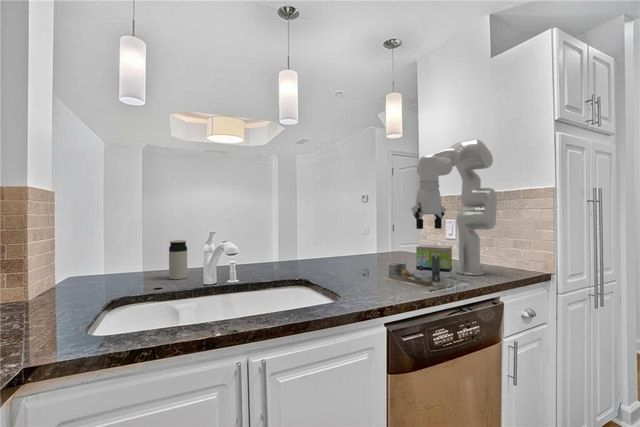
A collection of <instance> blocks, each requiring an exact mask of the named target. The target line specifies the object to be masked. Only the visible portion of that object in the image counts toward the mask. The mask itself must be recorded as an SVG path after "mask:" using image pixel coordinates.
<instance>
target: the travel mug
mask: <svg viewBox="0 0 640 427" xmlns="http://www.w3.org/2000/svg"><path fill="white" fill-rule="evenodd" d="M186 243H187V240H185V239H184V240H183V239H182V240H179V239H178V240H170V241H169V245H170V246H169V247H168V270H169V271H168V272H169V273H168V279H169V280H171V279H179V280H184V279H183V278H185V279H187V278H188V246H187V244H186Z"/></svg>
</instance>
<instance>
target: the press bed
mask: <svg viewBox="0 0 640 427" xmlns="http://www.w3.org/2000/svg"><path fill="white" fill-rule="evenodd" d="M402 270H407V263H406V262H397V263H389V264H388V276H387V277H386V276H385V277H383V279H384V280H388V281H389V280H390V281H394V282H398V283H403V284H408V285H411V286H416V287H420V288H425V289H429V290H428V292H429V291H430V292H429V293H432V291H434V292H438V291H441V290H442V289H443V290H447V289H450V288H451V287H452V288H454V284H453V283H449V282H448V285H444V286H439V287H435V286H430V282H426V281H421V280H416V279H415V274H416V273H410V272H409V273H410V276H409V278H406V277H401V271H402ZM429 278H432V276H429ZM440 279H441V278H440ZM441 280H444V279H441ZM446 288H447V289H446ZM437 290H438V291H437Z"/></svg>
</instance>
